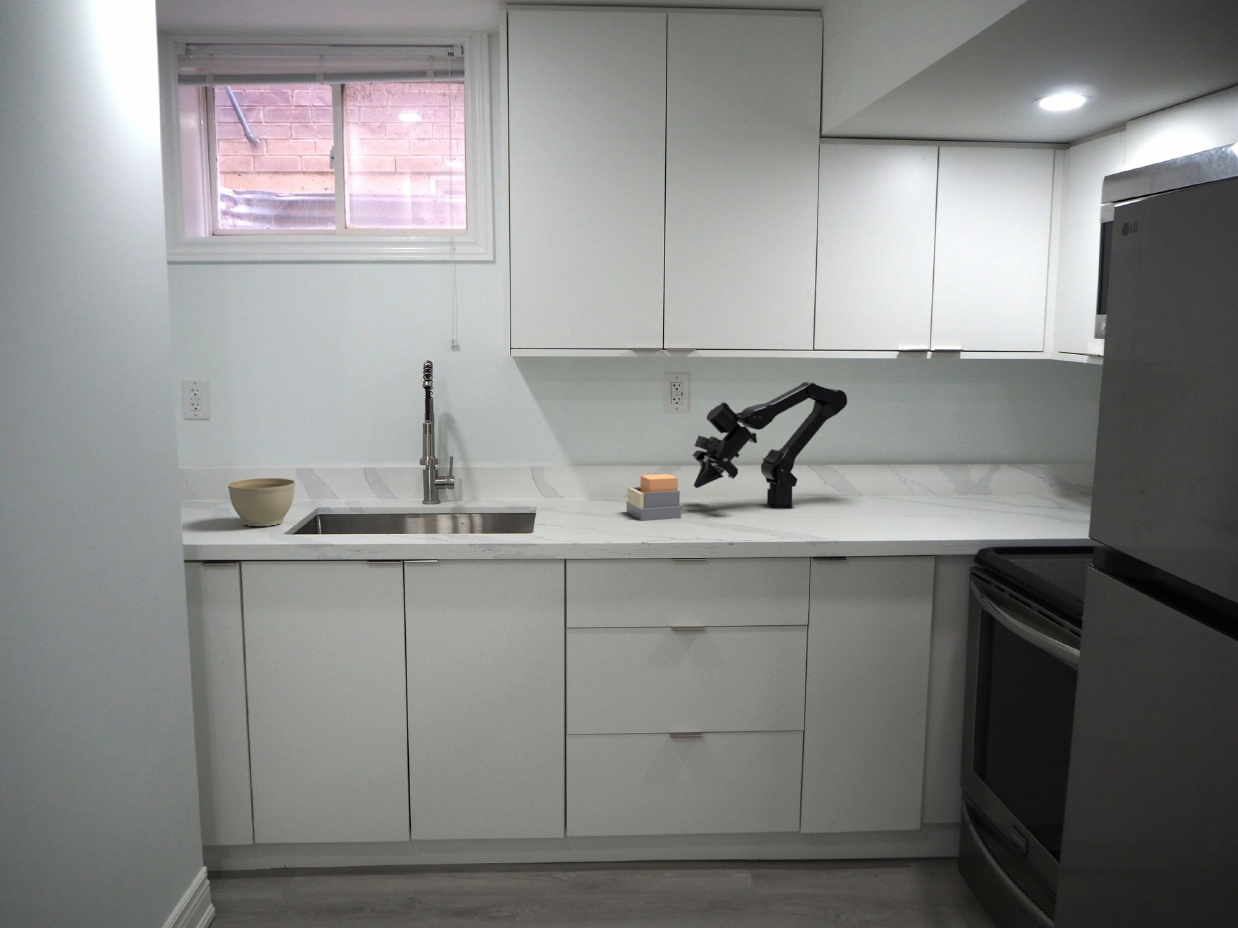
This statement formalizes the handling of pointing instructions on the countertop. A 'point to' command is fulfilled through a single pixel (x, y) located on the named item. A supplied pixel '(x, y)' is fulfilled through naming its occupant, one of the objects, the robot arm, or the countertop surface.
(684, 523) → the countertop surface
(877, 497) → the countertop surface
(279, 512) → the planter bowl
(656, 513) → the open gray box
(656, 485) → the orange block
